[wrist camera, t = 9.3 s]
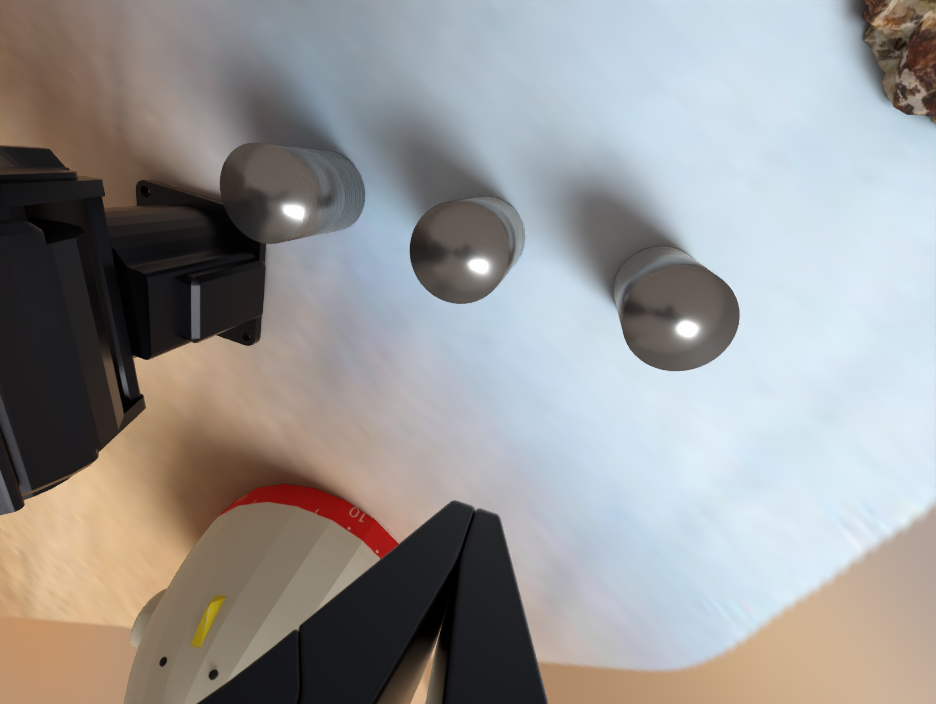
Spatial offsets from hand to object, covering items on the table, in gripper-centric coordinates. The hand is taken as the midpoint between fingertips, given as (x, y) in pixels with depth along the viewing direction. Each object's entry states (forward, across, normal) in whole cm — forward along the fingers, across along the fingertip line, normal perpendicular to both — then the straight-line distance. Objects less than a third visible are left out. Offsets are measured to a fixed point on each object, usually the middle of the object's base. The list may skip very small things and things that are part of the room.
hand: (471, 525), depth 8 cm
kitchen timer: (+13, +9, +20) cm, 25 cm away
